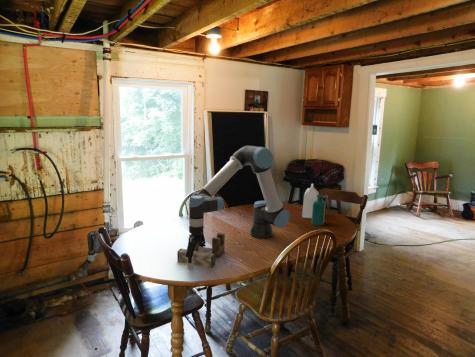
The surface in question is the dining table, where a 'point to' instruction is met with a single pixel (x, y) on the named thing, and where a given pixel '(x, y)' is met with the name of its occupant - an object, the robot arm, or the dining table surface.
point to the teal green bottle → (318, 210)
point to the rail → (197, 258)
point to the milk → (309, 201)
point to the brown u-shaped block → (214, 245)
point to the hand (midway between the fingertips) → (196, 262)
